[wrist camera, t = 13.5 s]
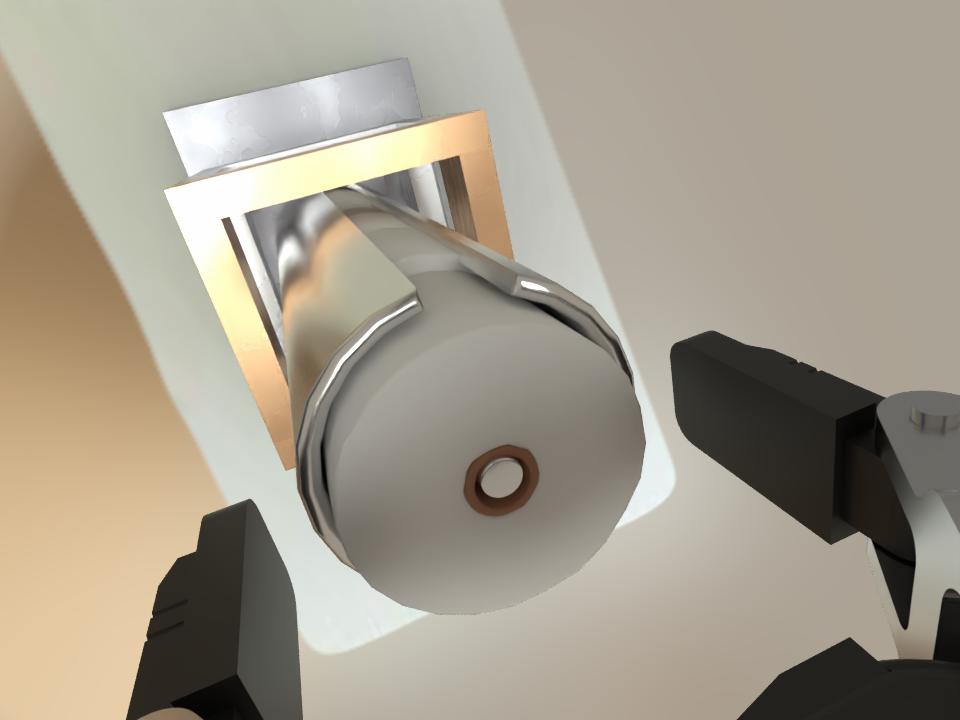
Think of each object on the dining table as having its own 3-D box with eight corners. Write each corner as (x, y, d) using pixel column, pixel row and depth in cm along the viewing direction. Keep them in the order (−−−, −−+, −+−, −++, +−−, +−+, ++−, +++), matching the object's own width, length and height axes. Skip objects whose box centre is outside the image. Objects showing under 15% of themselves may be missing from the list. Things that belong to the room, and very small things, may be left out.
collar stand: (165, 113, 28) (90, 96, 16) (403, 59, 31) (488, 10, 19) (283, 399, 35) (290, 536, 23) (471, 336, 37) (566, 429, 25)
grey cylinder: (416, 208, 33) (731, 362, 10) (372, 314, 34) (571, 653, 12) (301, 156, 30) (397, 215, 8) (258, 274, 31) (235, 614, 9)
